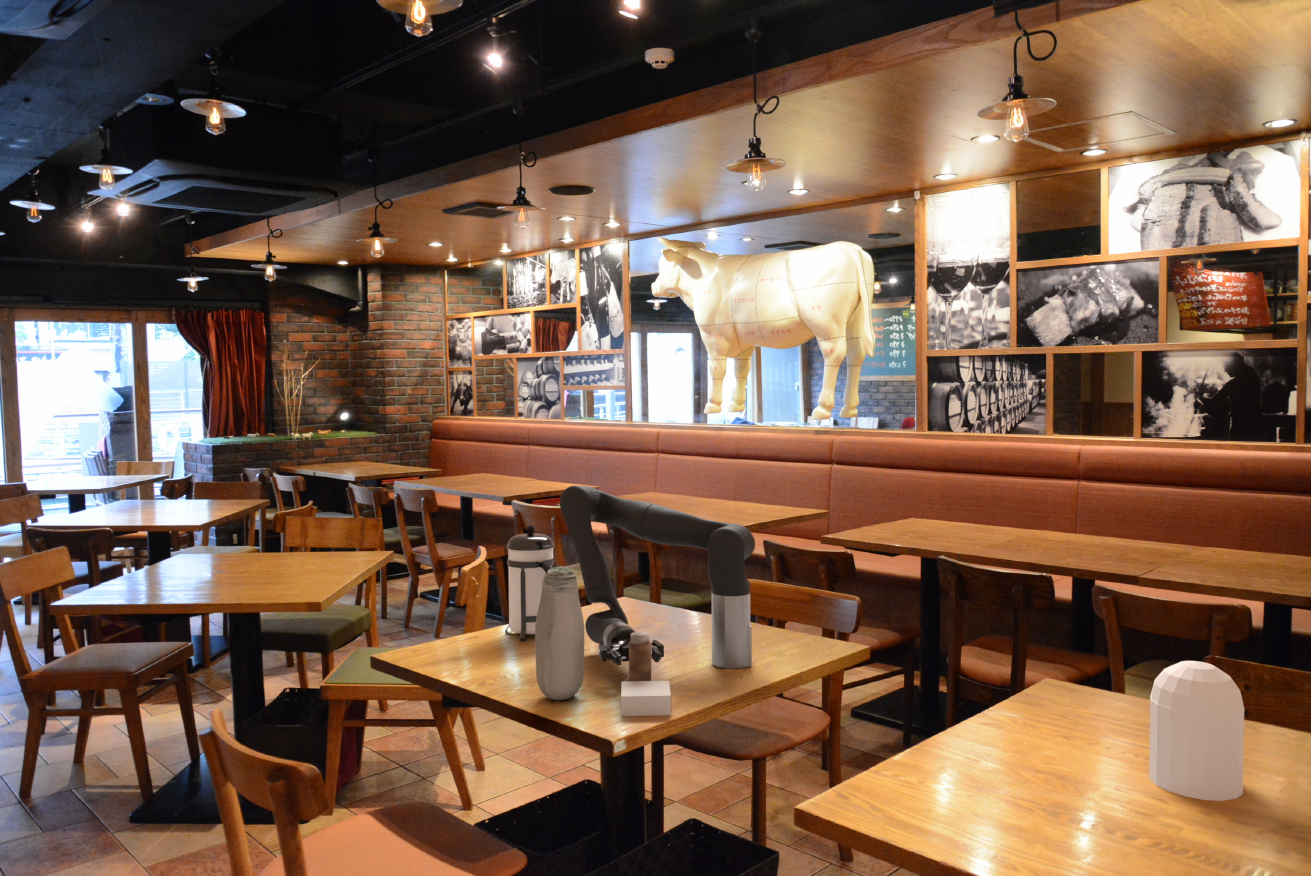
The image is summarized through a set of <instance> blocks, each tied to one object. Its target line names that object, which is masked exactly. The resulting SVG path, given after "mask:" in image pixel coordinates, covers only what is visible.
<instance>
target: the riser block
mask: <svg viewBox="0 0 1311 876" xmlns="http://www.w3.org/2000/svg"><path fill="white" fill-rule="evenodd" d="M620 684H621V687H620V688H621V690H620V691H621V692H620V706H621V707H620V708H621V709H620V710H621V712H620V714H621V715H620V716H621V717H640V716H641V717H645V716H649V717H651V716H653V717H654V716H657V717H658V716H672V695H671V694H672V693H671V685H670V681H669V680H651V681H627V680H624V681H621V683H620Z"/></svg>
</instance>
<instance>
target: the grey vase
mask: <svg viewBox="0 0 1311 876" xmlns="http://www.w3.org/2000/svg"><path fill="white" fill-rule="evenodd" d="M578 584H579V583H578V578H577V575H576V574H575V571H573V569H571V568H570V567H567V566H563V565H561V566H553V568H551V569H549V570H548V571H547V572H546V573H545V575H544V577H543V580H542V591H541V599H540V604H539V608H538V612H537V617H536V624H535V634H534V636H535V637H534V643H535V673H536V681H537V686H538V688H539V690H540V691H541V693H542V694H543V695H544V696H545V697H546V698H547V699H550V700H554V701H565V700H569V699H570V698H572V697H574V696H575V695H576V694H577V693H578V692H579V691H580V689H581V687H582V685H583V682H584V678H585V619H584V614H583V609H582V605H581V603H580V596H579V587H578V586H579V585H578Z"/></svg>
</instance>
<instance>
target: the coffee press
mask: <svg viewBox="0 0 1311 876" xmlns="http://www.w3.org/2000/svg"><path fill="white" fill-rule="evenodd" d="M534 526H535V525H532V524H529V525H527V526H526V529H525V530H526V532H527V533H520V534H516V535H514V536H511V538H510V539H509V540H508V543H507V544H506V549H507V554H508V556H507V559H506V560H507V566H508V569H507V570H508V574H507V575H508V625H507V627H506V628H505V629H504V633H505V634H506V635H510V634H511V633H516V634H520V635H519V641H520V642H526V641H527V637H528V636H529V635H535V624H536V617H537V612H538V608H539V604H540V599H541V591H542V580H543V577H544V575H545V573H546V572H547V571H548V570H549V569H551V568H554V564H555V557H554V547H555V542H553V539H552V537H550V536H549V535H547V534H545V533H535V527H534ZM509 629H510V632H509V631H508V630H509Z"/></svg>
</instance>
